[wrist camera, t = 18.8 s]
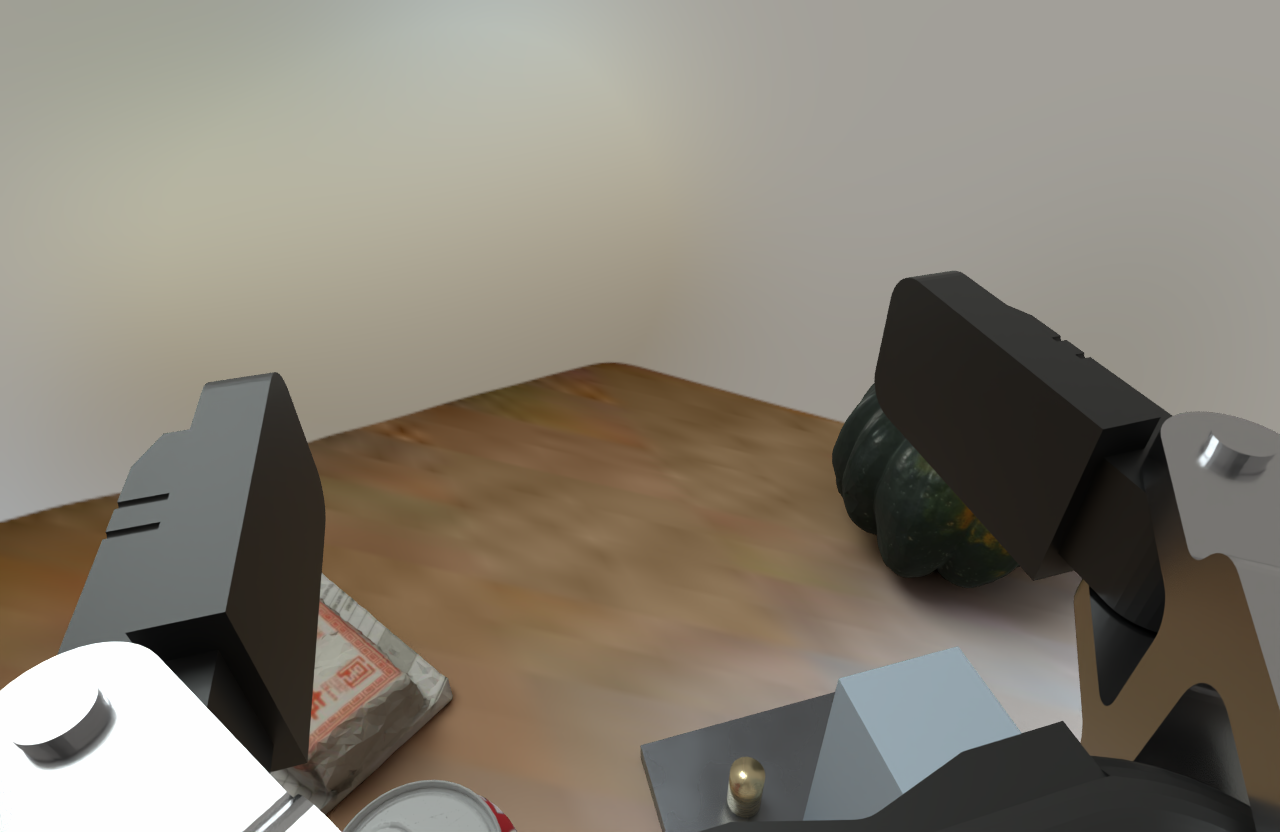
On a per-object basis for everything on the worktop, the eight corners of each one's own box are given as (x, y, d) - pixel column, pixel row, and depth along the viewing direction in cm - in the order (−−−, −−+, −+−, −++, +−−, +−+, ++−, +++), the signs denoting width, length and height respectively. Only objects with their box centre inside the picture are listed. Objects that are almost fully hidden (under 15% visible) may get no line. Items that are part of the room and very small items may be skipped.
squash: (781, 520, 45) (1014, 386, 36) (804, 388, 57) (985, 263, 48) (933, 660, 48) (1181, 567, 39) (925, 507, 60) (1115, 410, 51)
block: (959, 913, 32) (1048, 770, 25) (853, 951, 31) (913, 813, 24) (896, 799, 36) (958, 646, 29) (800, 829, 35) (838, 678, 28)
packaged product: (446, 647, 39) (269, 799, 33) (461, 699, 42) (301, 848, 36) (264, 499, 48) (98, 597, 42) (286, 551, 51) (135, 649, 45)
